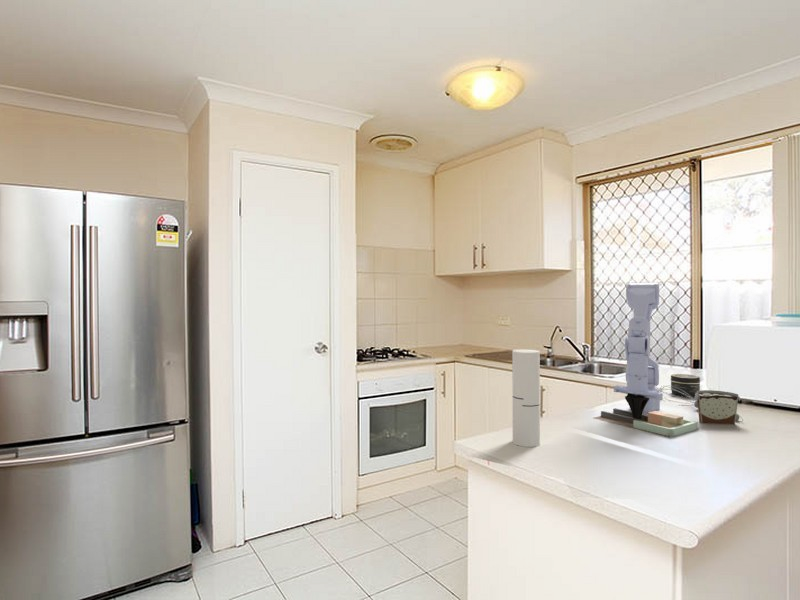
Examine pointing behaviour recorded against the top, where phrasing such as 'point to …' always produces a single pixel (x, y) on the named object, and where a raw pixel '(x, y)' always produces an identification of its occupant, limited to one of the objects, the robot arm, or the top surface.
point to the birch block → (671, 420)
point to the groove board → (624, 419)
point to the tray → (666, 431)
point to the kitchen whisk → (690, 401)
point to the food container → (717, 406)
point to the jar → (685, 384)
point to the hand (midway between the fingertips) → (637, 419)
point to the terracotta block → (655, 417)
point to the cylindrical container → (526, 397)
